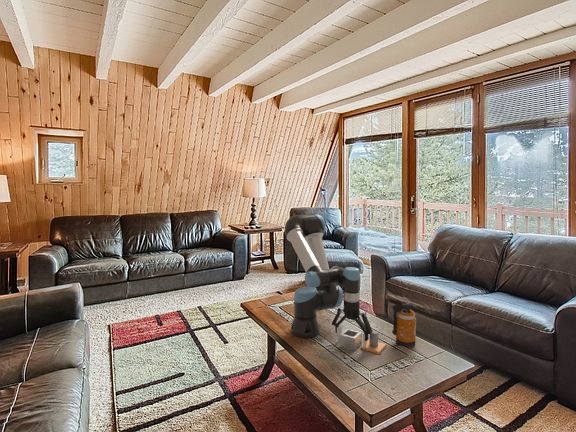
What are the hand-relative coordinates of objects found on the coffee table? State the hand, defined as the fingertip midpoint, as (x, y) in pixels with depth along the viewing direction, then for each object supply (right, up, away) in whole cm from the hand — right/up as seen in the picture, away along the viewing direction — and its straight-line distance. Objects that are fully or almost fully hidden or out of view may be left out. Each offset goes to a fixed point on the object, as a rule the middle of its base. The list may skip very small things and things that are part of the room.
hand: (351, 343), depth 166 cm
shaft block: (+10, -1, -2) cm, 10 cm away
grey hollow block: (0, -1, +1) cm, 1 cm away
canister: (+26, -1, +3) cm, 26 cm away
